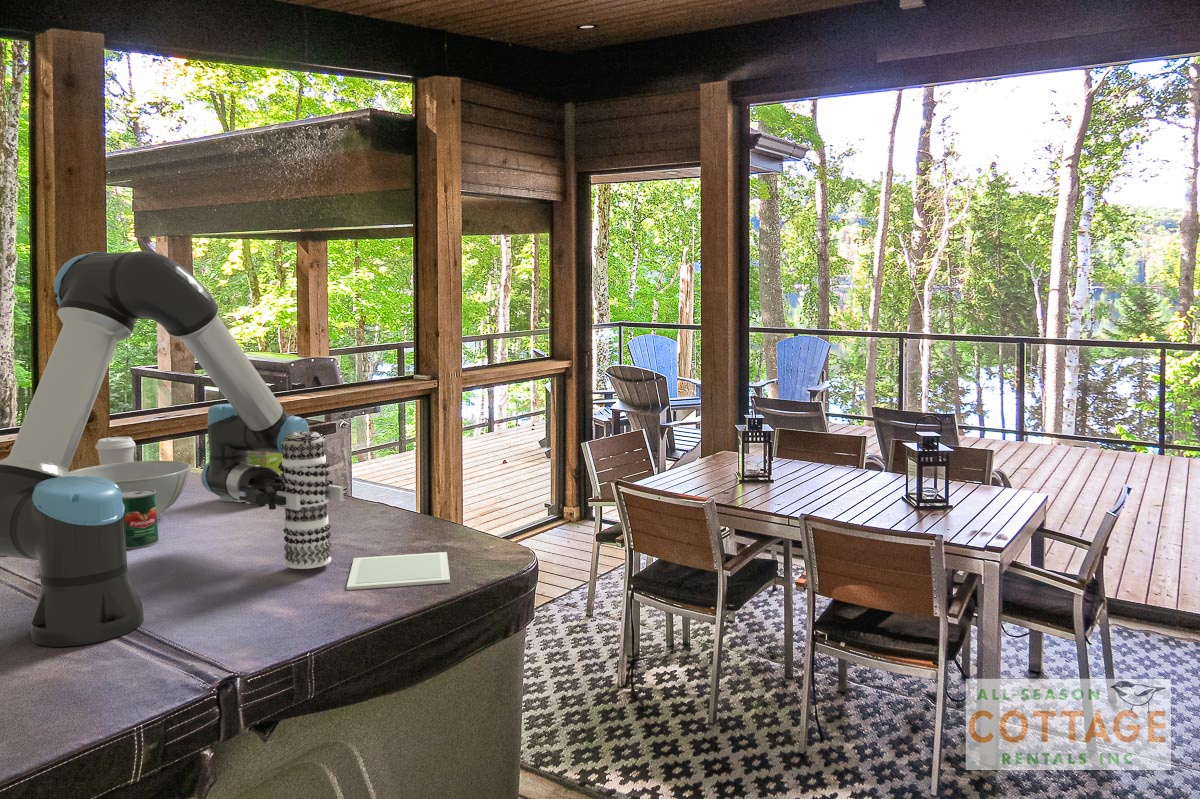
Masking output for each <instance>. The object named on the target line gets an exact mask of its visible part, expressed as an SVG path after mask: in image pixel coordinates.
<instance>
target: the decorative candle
mask: <svg viewBox="0 0 1200 799" xmlns="http://www.w3.org/2000/svg"><path fill="white" fill-rule="evenodd" d="M325 441H326V438H323V437H322V435H320V433H319V432H317V431H311V430H309V431H300V432H292V433H289V434H287V435H286V437H285V439H284V440H283V441H281V442H280V443H282V452H283V457H282V463H280V464H279V466H278V468H279V470H280V471H282V472H283V473H281V474H280V477H279V479H280V480H281V481H282V482H281V484H280V487H281V489H282V490H284V492H287V493H292V494H297V495H300V510H293V509H288V508H285V509H284V513H285V518H284V528H283V533H284V534H286V535H285V536H284V537H283V540H284V542H285V545H284V546H283V550H284V551H285V554H284V558H285V560H286V561H285V564H284V566H285V567H287V568H290V569H294V570H305V569H306V570H307V569H314V568H320V567H324V566H326V565H328V564H330V563H332V557H331V556H332V555H331V554H332V553H333V552H332V549H331V547H332V542H331V541H330V537H331V536H332V534H331V532H330V531H329V530H330V529H331V525H330V523H329V515H328V505H327V504H328V503H329V501H330V499H329V498H328V497H326V494H328V493H330V490H328V489H327V488H326V487H327V486H328V485H329V484H330V482H328V481H329V480H328V481H327V480H326V481H325V479H326V477H328V476H329V475H330V474H331V471H329V470H327V469H328V468H329V467H330V466H331V464H330V463H329V462H327V459H326V458H327V455H326V454H325V453H326V452H325ZM325 488H326V489H325ZM286 542H287V543H286Z"/></svg>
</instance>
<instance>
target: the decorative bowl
mask: <svg viewBox="0 0 1200 799" xmlns="http://www.w3.org/2000/svg"><path fill="white" fill-rule="evenodd" d="M68 472H69V475H70V476H78V477H84V476H90V477H98V478H103V479H107V480H110V481H112V482H114V483H115V484H117V485H118V486H119V488H120V490H121V492H123V491H129V490H139V489H151V490H155V491H156V507H157V508H156V509H157V521H158V520H160V518H161V514H163V512H165V511H167V510H168V509H169V508H171V506H172V505H174V504H175V502H176V501H177V500H178V499H179V497H180V496H181V495H182V492H183V491H184V489H185V487H186V485H187V482H188V480H189V477H190V473H191V465H190V464H189V463H187V462H182V461H176V460H175V461H174V460H139V461H138V460H137V461H133V462H122V463H113V464H105V465H100V464H98V465H93V466H87V467H82V468H78V469H74V470H71V471H68Z"/></svg>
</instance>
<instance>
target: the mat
mask: <svg viewBox="0 0 1200 799" xmlns="http://www.w3.org/2000/svg"><path fill="white" fill-rule="evenodd" d="M448 559H449V558H448V552H447V551H443V552H441V551H439V552H425V553H424V552H423V553H412V554H411V553H410V554H395V555H393V554H392V555H379V556H365V557H353V561H352V565H351V568H350V571H349V572H350V573H349V576H348V580H347V584H346V591H349V590H350V591H353V590H367V589H369V590H370V589H379V588H382V589H383V588H394V587H408V586H420V585H421V586H422V585H438V584H448V583H451V577H450V568H449V560H448Z"/></svg>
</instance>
